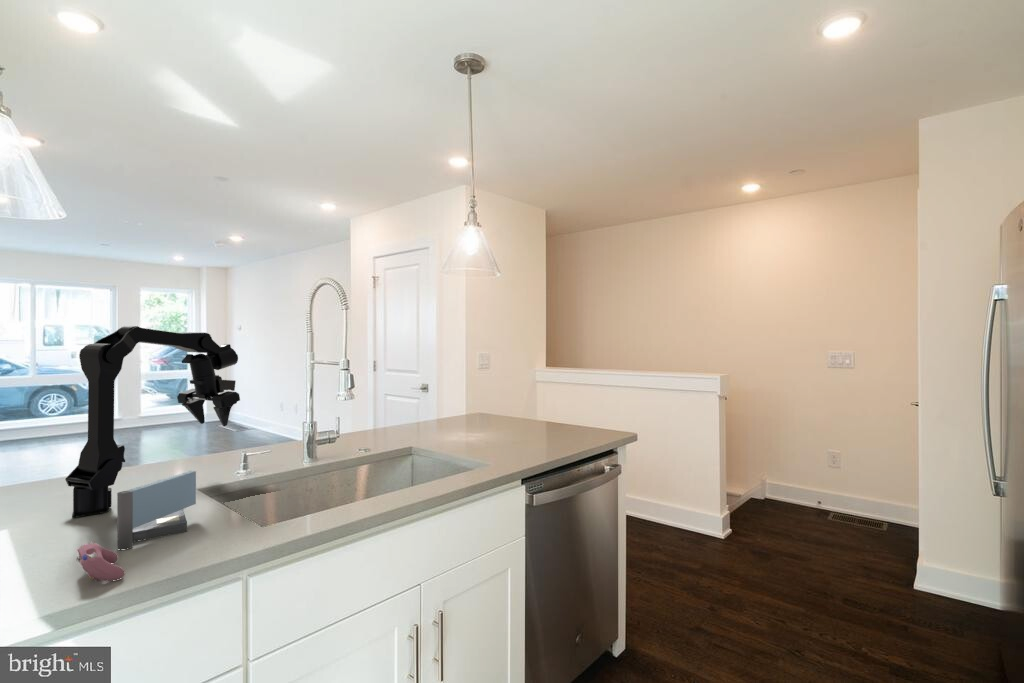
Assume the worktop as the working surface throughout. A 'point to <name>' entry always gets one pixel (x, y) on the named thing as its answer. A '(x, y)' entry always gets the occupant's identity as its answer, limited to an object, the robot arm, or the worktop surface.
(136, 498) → the light blue flat slab
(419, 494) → the worktop surface
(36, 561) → the worktop surface
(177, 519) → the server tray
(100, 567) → the video game controller
